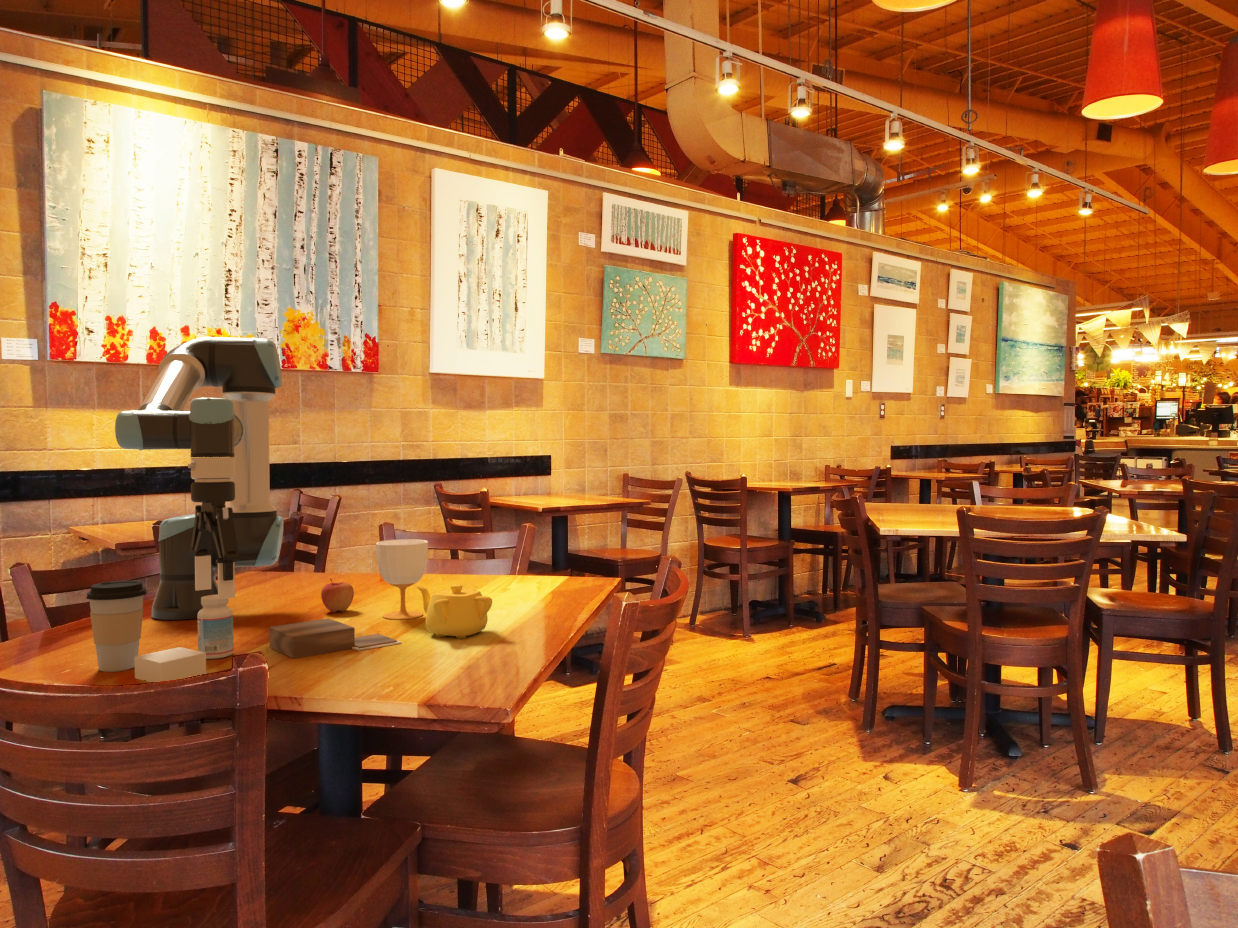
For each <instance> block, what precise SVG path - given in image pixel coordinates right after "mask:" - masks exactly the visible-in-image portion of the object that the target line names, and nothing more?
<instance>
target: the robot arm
mask: <svg viewBox="0 0 1238 928" xmlns="http://www.w3.org/2000/svg"><path fill="white" fill-rule="evenodd" d="M281 367H282V366H281V362H280V358H279V351H278V348H277V346H276V344H275V342H274V341H273V340H271V339H269V338H261V337H260V338H258V337H253V336H252V337H234V336H233V337H231V336H230V337H228V336H227V337H222V336H216V337H215V336H201V337H197V338H193V339H190V340H188V341H185V342H182V343H181V344H179V345H177V346H175V347H173V348H172V349H171V350H169V351H168V352H167V353H166V354H165V355H164V356H163V358H162V359H161V361H160V363H159V366H158V367H157V368H158V369H157V372H158V373H157V374H158V376H157V378H156V379H155V381H154V382H153V384H152V385H151V388H150V389H149V391H148V393H147V394H146V396H145V398H144V400H143V401H142V403H141V405H140V406H139V407H138V410H135V409H131V410H121V411H120V412H119V413H117V415H116V418H115V424H114V433H115V439H116V442H117V445H118V446H119V448H122V449H124V450H138V451H144V450H145V451H146V450H148V451H151V450H152V451H153V450H190V462H189V463H188V464H187V468H188V469H190V478H191V479H192V480H194V482H191V484H190V500H191V502H192V503H201V504H196V505H195V507H194V511H195V513H193V514H186V515H180V516H174V517H169V518H166V519H164V520H162V521H161V523H160V524H159V530H158V531H159V532H158V539H157V541H158V553H159V554H158V556H159V557H158V559H159V561H158V562H159V585H158V588H157V590H156V593H155V597H154V599H153V602H152V605H151V618H153V619H157V620H163V621H166V620H168V621H172V620H173V621H174V620H175V621H176V620H177V621H178V620H181V621H182V620H193V619H197V615H198V612H199V611H200V610H201V609H203V606H202V604H201V598H202V597H203V596H208V595H218V599H227V598H228V599H234V598H236V583H235V582H236V576H235V574H236V571H235V570H236V569H235V568H244V567H245V568H246V567H247V568H248V567H255V568H258V567H264V566H265V567H267V566H273V565H275V564H276V562H277V561H278V560H279V557H280V553H281V549H282V544H283V537H284V524H285V523H284V521H285V519H284V518H283V516H281V515H277V514H278V512H277V511H278V509H277V508H276V507H275V506H274V505H273V504H272V503H271V496H270V495H271V492H270V491H271V490H270V489H271V488H270V487H271V486H270V484H271V483H270V480H271V479H270V475H271V474H270V416H269V415H270V413H269V412H270V407H269V406H270V405H269V404H270V401H272V400H273V399H274V398H275V396H276V389H279V388H282V387H283V375H282V368H281ZM203 387H205V388H206V387H213V388H222V396H223V397H195V398H193V399H191V397H192V395H193V394H194V392H195V391H197V390H199V389H200V388H203ZM190 399H191V400H190ZM189 401H190V405H189V410H185V409H186V408H187V405H188V403H189ZM226 502H230V504H229V505H228V506H227V507H226ZM216 569H217V579H216Z"/></svg>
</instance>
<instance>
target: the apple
mask: <svg viewBox="0 0 1238 928" xmlns="http://www.w3.org/2000/svg"><path fill="white" fill-rule="evenodd" d="M329 579H330V581H331V583H327V584H326V583H325V585H324V586H323V587H322V588H321V593H320V598H321V602H322V603H323V606H324V607H325V608H326V609H327V610H329V612H331V613H333V614H334V613H336V612H338V611H340V612H341V613H342V612H343V613H344V612H346V611H347V610H348V608H349V607H350V606H351V604H352V603H353V599H354V595H355V592H354V591H355V590H354V587H353V585H352V584H351V583H348V582H344V581H343V582H333V579H332V578H329Z"/></svg>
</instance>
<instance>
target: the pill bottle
mask: <svg viewBox="0 0 1238 928" xmlns="http://www.w3.org/2000/svg"><path fill="white" fill-rule="evenodd" d="M201 604H202V606H203V609H201V610H200V611H199V612H198V615H197V618H196V619H197V621H196V622H197V651H200V652H204V653H206V660H216V659H223V658H226V657H229V656H231V655H233V654H234V651H235V650H234V649H235V647H234V615H233V614H234V613H233V609H232V608H231V607H229V606H228V604H229V598H227V599H218V595H208V596H203V597H202V598H201Z"/></svg>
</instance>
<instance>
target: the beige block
mask: <svg viewBox="0 0 1238 928" xmlns="http://www.w3.org/2000/svg"><path fill="white" fill-rule="evenodd" d="M134 661H135V667H134V679H137V680H140V681H144V680H146V681H145V682H148V683H151V682H160V681H169V680H176V679H182V678H187V677H189V676H196V675H200V676H203V675H202V674H205V675H207V659H206V653H204V652H200V651H198V650H194V649H191V648H186V647H182V646H177V647H174V648H168V649H163V650H159V651H155V652H150V653H145V654H140V655H139V654H138V656H135V657H134ZM196 677H197V676H196Z"/></svg>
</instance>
